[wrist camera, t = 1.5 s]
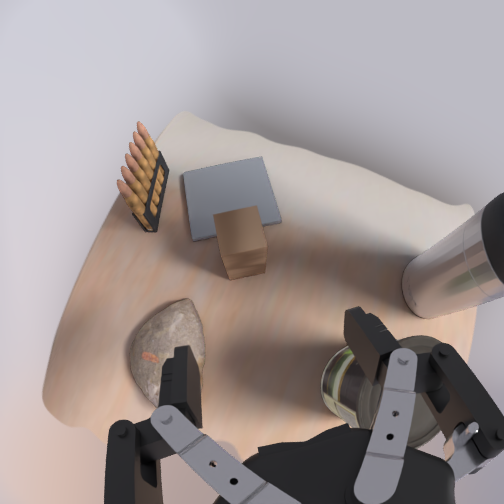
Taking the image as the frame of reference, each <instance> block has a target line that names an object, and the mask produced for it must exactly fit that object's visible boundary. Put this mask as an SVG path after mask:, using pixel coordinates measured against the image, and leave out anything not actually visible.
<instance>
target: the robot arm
mask: <svg viewBox="0 0 504 504" xmlns="http://www.w3.org/2000/svg"><path fill="white" fill-rule="evenodd" d="M402 291H403V295H404V298H405V301H406V303H407V305H408V306H409V308H410V309H411V310H412V311H413V312H414V313H415V314H416V315H418V316H419V317H422V318H426V319H431V318H436V317H440V316H443V315H447V314H451V313H455V312H458V311H461V310H465V309H468V308H471V307H474V306H477V305H481V304H484V303H487V302H490V301H493V300H495V299H498V298H501V297H503V296H504V193H502V194H500V195H498V196H497V197H496V198H494V199H493V200H492V201H491V202H490V203H488V204H487V205H486V206H485V207H483V208H482V209H481V210H480V211H478V212H477V213H476V214H475V215H473V216H472V217H471V218H470V219H469V220H467V221H466V222H465V223H463V224H462V225H461V226H459V227H458V228H457V229H455V230H454V231H453V232H451V233H450V234H449V235H447V236H446V237H445V238H443V239H442V240H441V241H439V242H438V243H436V244H435V245H434V246H432V247H431V248H429V249H428V250H426V251H425V252H423V253H422V254H421V255H419V256H418V257H416V258H415V259H413V260H412V261H411V262H410V263H409V264H408V265H407V267H406V268H405V271H404V274H403V278H402ZM344 338H345V341H346V343H347V345H348V346H349V348H350V350H351V351H352V353H353V355H354V356H355V358H356V360H357V361H358V363H359V365H360V366H361V368H362V370H363V371H364V373H365V375H366V376H367V378H368V380H369V381H370V383H371V385H372V386H375V385H377V384H380V386H381V387H382V388H381V391H380V395H379V399H378V403H377V407H376V410H375V414H374V417H373V421H372V424H371V427H370V429H365V428H350V427H349V424H348V423H346V424H343V425H340V426H338V427H334V428H331V429H328V430H326V431H324V432H322V433H321V434H319V435H317V436H315V437H313V438H311V439H310V440H308V441H305V442H282V443H276V444H272V445H267V446H262V447H258V452H259V453H257V454H254V455H253V456H251V457H249V458H248V459H246V460H245V461H244V462H243V463H242V464H241V463H240V462H239V461H238V460H236V459H235V458H234V457H233V456H231V455H230V454H229V453H228V452H226V451H225V450H224V449H223V448H222V447H221V446H219V445H218V444H217V443H216V442H215V441H214V440H212V439H211V438H210V437H209V436H208V435H206V434H205V435H204V434H203V433H202V432H201V431H199V430H198V429H199V428H202V409H201V383H200V371H199V367H198V364H197V361H196V359H195V357H194V354H193V352H192V349H191V347H190V345H185V346H178V347H175V348H174V357H173V358H167V359H166V361H165V362H164V364H163V366H162V373H161V375H162V376H161V383H160V392H159V403H158V408H157V409H156V410H155V411H154V412H153V413H152V415H151V417H150V418H149V419H147V420H144V421H141V422H138V423H136V424H133V423H132V422H130V421H128V420H119V421H117V422H115V423H114V424H113V425H112V426H111V427H110V429H109V435H108V444H107V455H106V470H105V490H104V504H163V496H162V483H161V466H160V459H162V458H165V457H168V456H171V455H173V454H176V453H177V454H178V455H179V456H180V457H181V458H182V459H183V460H184V461H185V462H186V463H187V464H188V465H189V466H190V467H191V468H192V469H193V470H194V471H195V472H196V473H197V474H198V475H199V476H200V477H201V478H202V479H203V480H204V481H205V482H206V483H207V484H209V485H210V486H211V487H212V488H213V489H214V490H215V491H216V492H217V493H219V494H220V495H219V496H218V498H217V499H216V500H215V502H214V503H213V504H456V503H455V496H454V487H455V482H456V481H458V480H459V479H461V478H463V477H464V476H466V475H467V474H474V473H476V472H478V471H479V470H480V469H482V468H483V467H484V466H485V465H487V464H488V463H489V462H490V461H491V460H493V459H494V458H495V457H496V456H497V455H498V454H499V453H500V452H502V451H503V450H504V416H503V414H502V413H501V411H500V410H499V408H498V407H497V405H496V404H495V402H494V401H493V400H492V398H491V397H490V395H489V394H488V392H487V391H486V390H485V388H484V387H483V385H482V384H481V383H480V381H479V380H478V379H477V377H476V376H475V375H474V373H473V372H472V371H471V369H470V368H469V367H468V365H467V364H466V363H465V361H464V360H463V359H462V358H461V356H460V355H459V354H458V353H457V351H456V350H455V349H454V348H453V347H452V346H451V345H449V344H446V343H439V344H436V345H435V346H434V347H433V348H432V351H431V352H428V353H421V354H415V353H414V352H413V351H412V350H410V349H407V348H402V347H401V346H400V344H399V343H398V342H397V340H396V339H395V338H394V337H393V335H392V334H391V333H390V332H389V330H387V328H386V327H385V325H383V323H382V322H381V320H380V319H379V318H378V317H376V316H375V315H373V314H371V313H368V314H366V313H365V312H364V311H363V310H362V308H361V307H359V306H358V307H355V308H352V309H348V310H346V311H345V319H344ZM418 393H420V394H421V395H422V397H423V399H424V401H425V402H426V404H427V406H428V407H429V409H430V411H431V413H432V414H433V416H434V418H435V420H436V422H437V423H438V425H439V427H440V429H441V431H442V432H443V434H444V436H445V438H446V441H445V443H444V447H443V449H444V454H445V460H443V459H441V458H439V457H436V456H433V455H431V454H428V453H425V452H423V451H420V450H417V449H415V448H413V447H410V446H408V445H407V441H408V436H409V431H410V426H411V421H412V416H413V410H414V403H415V397H416V394H418Z"/></svg>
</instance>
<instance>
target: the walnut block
mask: <svg viewBox="0 0 504 504" xmlns="http://www.w3.org/2000/svg"><path fill="white" fill-rule="evenodd" d="M213 218H214V223H215V228H216V234H217V239H218V244H219V249H220V255H221V258H222V261H223V263H224V266H225V269H226V272H227V274H228V277H229V280H235V279H239V278H244V277H248V276H253V275H257V274H262V273H265V267H266V258H267V248H268V245H267V242H266V238H265V234H264V230H263V226H262V222H261V219H260V215H259V211H258V207H257V205H256V206H251V207H246V208H241V209H237V210H232V211H227V212H222V213H218V214H213Z"/></svg>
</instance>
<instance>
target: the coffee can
mask: <svg viewBox="0 0 504 504" xmlns="http://www.w3.org/2000/svg"><path fill="white" fill-rule="evenodd" d="M397 342H398V343H399V344H400V346H401V347H402V348H407V349H410V350H412V351H413V352H414V353H415V354H421V353H428V352H431V351H432V348H433V347H434V346H435V345H436V344H439V343H442V342H441V341H439V340H437V339H435V338H433V337H429V336H422V335H419V336H411V337H407V338H404V339H400V340H397ZM381 388H382V387H381V386H380V384H377V385H375V386H372V385H371V383H370V381H369V380H368V378H367V376H366V375H365V373H364V371H363V370H362V368H361V366H360V365H359V363H358V361H357V360H356V358H355V356H354V355H353V353H352V351H351V350H350V348H349V346H346V347H345V348H343V349H341V350H340V351H338V352H337V353H336V354H335V355H334V356H333V357H332V358H331V359H330V361H329V362H328V363H327V365H326V367H325V369H324V371H323V374H322V378H321V394H322V398H323V400H324V402H325V404H326V406H327V407H328V408H329V410H330V411H331V412H333V413H334V414H335V415H337V416H339V417H340V418H341V419H342V420H344V421H345V422H346V423H348V424H349V425H350V426H351V427H353V428H365V429H370V427H371V424H372V421H373V417H374V414H375V410H376V407H377V403H378V399H379V395H380V391H381ZM440 431H441V429H440V427H439V425H438V423H437V422H436V420H435V418H434V416H433V414H432V413H431V411H430V409H429V407H428V406H427V404H426V402H425V401H424V399H423V397H422V395H421V394H420V393H418V394H416V397H415V403H414V410H413V416H412V421H411V426H410V431H409V436H408V441H407V445H408V446H410V447H413V448H415V449H417V448H419V447H421V446H423V445H424V444H426V443H427V442H429V441H430V440H431V439H433V438H434V437H435V436H436V435H437V434H438V433H439V432H440Z"/></svg>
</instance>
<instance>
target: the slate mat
mask: <svg viewBox="0 0 504 504" xmlns="http://www.w3.org/2000/svg"><path fill="white" fill-rule="evenodd" d="M183 175H184V184H185V192H186V199H187V207H188V214H189V222H190V228H191V235H192V240H193V241H198V240H202V239H207V238H211V237H216V236H217V234H216V228H215V223H214V218H213V214H218V213H222V212H227V211H232V210H237V209H241V208H246V207H251V206H256V205H257V207H258V211H259V215H260V219H261V222H262V226H268V225H273V224H278V223H281V221H282V220H281V216H280V213H279V210H278V206H277V203H276V200H275V196H274V193H273V190H272V187H271V183H270V180H269V177H268V174H267V171H266V167H265V164H264V161H263V158H262V157H256V158H251V159H245V160H240V161H235V162H230V163H225V164H220V165H215V166H210V167H206V168H201V169H197V170H193V171H188V172H184V173H183Z"/></svg>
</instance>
